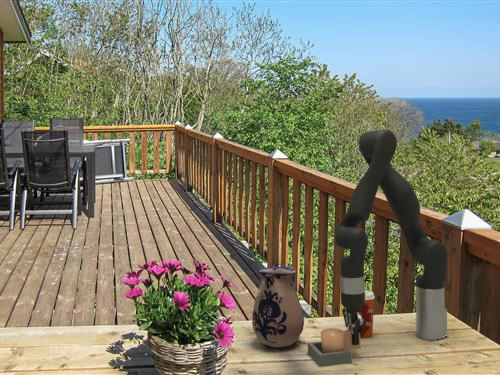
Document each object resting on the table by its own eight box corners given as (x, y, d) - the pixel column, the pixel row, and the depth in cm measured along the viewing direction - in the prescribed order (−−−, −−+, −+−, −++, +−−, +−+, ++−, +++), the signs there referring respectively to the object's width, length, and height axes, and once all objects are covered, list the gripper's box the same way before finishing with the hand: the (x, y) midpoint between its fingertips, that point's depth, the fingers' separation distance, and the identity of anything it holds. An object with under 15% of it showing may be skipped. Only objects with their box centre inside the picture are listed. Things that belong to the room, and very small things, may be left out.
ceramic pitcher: (244, 349, 194) (242, 275, 192) (267, 329, 214) (265, 261, 212) (295, 355, 188) (293, 278, 186) (314, 334, 207) (312, 263, 205)
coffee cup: (375, 339, 199) (375, 296, 198) (351, 338, 201) (350, 295, 200) (375, 331, 208) (374, 289, 206) (351, 330, 209) (351, 289, 208)
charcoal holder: (337, 349, 191) (337, 339, 191) (351, 362, 180) (351, 351, 180) (307, 353, 189) (307, 342, 189) (320, 366, 178) (319, 355, 178)
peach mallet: (355, 348, 190) (354, 324, 189) (364, 355, 183) (363, 331, 183) (319, 354, 188) (317, 330, 187) (327, 362, 181) (325, 337, 180)
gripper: (373, 294, 179) (374, 349, 180) (355, 283, 192) (356, 335, 194) (350, 296, 177) (351, 352, 179) (333, 285, 190) (335, 338, 192)
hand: (354, 343), depth 186 cm, fingers closed
